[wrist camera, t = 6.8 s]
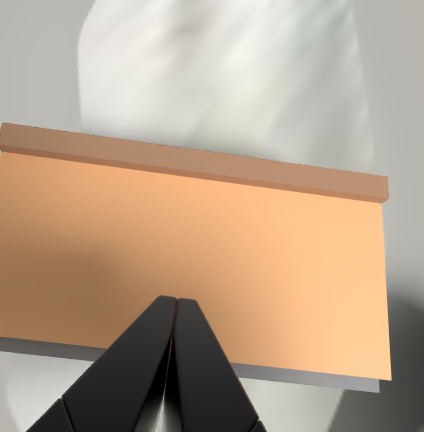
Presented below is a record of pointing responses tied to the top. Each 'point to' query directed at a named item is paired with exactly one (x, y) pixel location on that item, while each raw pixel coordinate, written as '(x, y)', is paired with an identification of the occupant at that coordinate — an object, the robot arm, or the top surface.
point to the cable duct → (240, 369)
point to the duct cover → (192, 249)
